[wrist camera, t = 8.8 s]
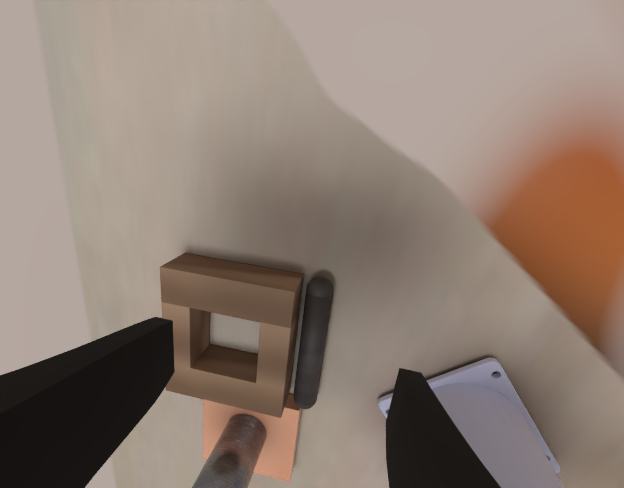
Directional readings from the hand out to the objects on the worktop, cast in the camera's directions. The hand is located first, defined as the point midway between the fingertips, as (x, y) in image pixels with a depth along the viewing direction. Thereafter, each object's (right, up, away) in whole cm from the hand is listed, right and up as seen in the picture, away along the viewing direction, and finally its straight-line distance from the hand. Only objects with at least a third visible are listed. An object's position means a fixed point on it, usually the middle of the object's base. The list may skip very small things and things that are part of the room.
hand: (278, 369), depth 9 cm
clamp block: (-4, -2, +11) cm, 12 cm away
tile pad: (-3, -10, +14) cm, 17 cm away
